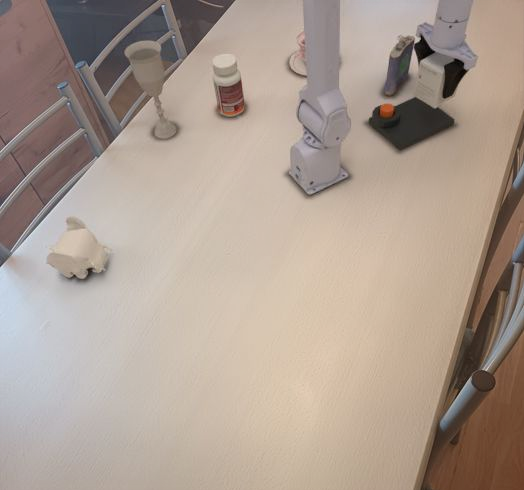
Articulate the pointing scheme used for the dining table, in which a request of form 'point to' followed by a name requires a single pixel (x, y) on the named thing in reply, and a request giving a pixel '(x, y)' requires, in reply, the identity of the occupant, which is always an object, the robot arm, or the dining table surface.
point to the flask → (399, 64)
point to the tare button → (386, 110)
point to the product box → (432, 79)
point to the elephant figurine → (77, 251)
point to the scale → (410, 122)
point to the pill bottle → (228, 85)
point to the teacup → (299, 56)
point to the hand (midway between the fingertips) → (435, 87)
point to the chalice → (150, 79)
